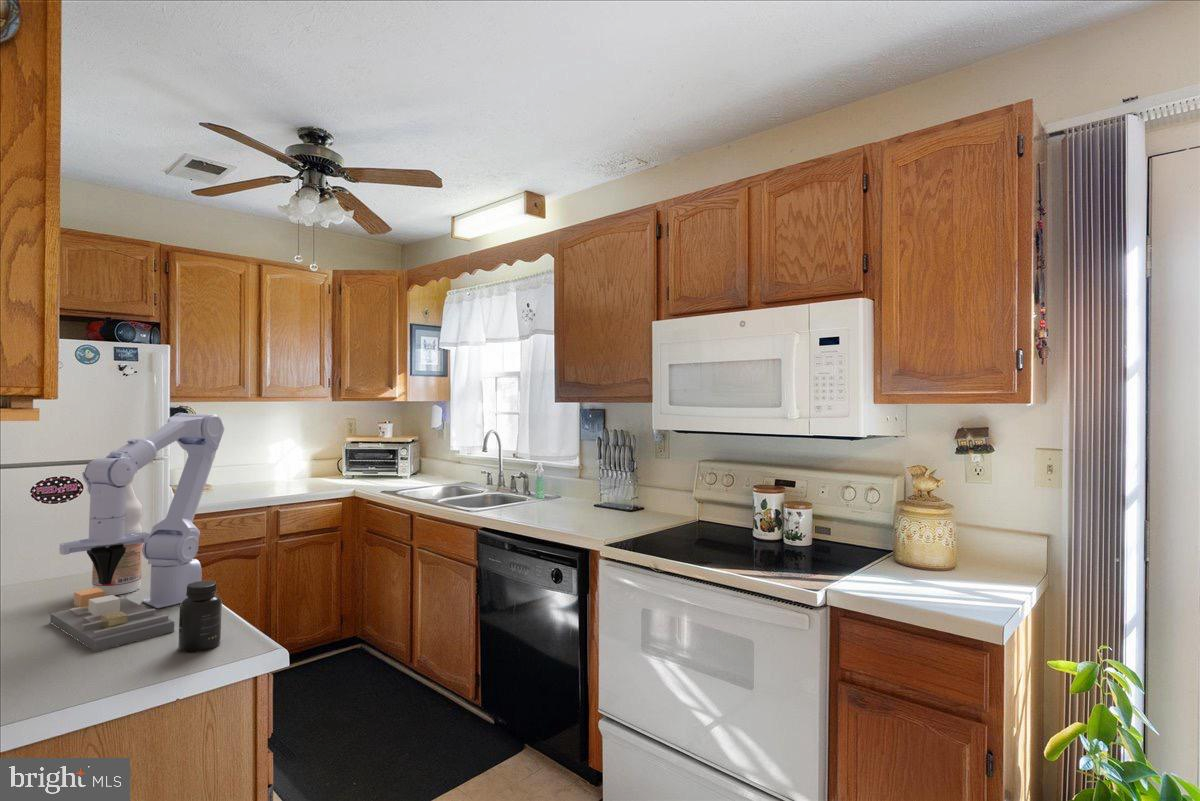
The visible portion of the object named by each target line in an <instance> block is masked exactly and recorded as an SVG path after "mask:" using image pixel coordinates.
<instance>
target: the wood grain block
mask: <svg viewBox="0 0 1200 801" xmlns="http://www.w3.org/2000/svg"><path fill="white" fill-rule="evenodd" d="M127 620H128V615H127V614H125V613H123V612H121V611H115V612H111V613H106V614H102V615H101V628H103V629H106V628H110V627H115V626H119V625H123V624H127Z"/></svg>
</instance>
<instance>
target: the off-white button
mask: <svg viewBox="0 0 1200 801" xmlns="http://www.w3.org/2000/svg"><path fill="white" fill-rule="evenodd" d="M120 599H121V598H120V597H118V596H117V595H109V596H104V597H99V598H94V599H89V608H88V612H90V613H91V614H93V615H95V616H98V615H102V614H106V613H111V612H115V611H120Z"/></svg>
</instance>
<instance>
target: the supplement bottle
mask: <svg viewBox="0 0 1200 801" xmlns="http://www.w3.org/2000/svg"><path fill="white" fill-rule="evenodd" d="M217 592H218V589H217V582H216V581H215V580H201V581H197V582H193V583H190V584H188V585H187V592H186V596H188V598H186V599H184V600H183V601H182V603H179V604H180V605H179V617H178V620H179V621H178V650H180V651H181V652H183V653H191V654H194V653H195V654H196V653H202V652H206V651H210V650H212V649H214V648H216V647H217V646H219V645H220V643H221V634H222V612H223V611H222V609H223V608H222V607H223V600H222V598H221V597H220V596H219V595H218V594H217Z"/></svg>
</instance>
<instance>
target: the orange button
mask: <svg viewBox="0 0 1200 801" xmlns="http://www.w3.org/2000/svg"><path fill="white" fill-rule="evenodd" d="M73 593H74V594H73V605H75V606H77V607H81V608H82V607H87V606H89V599H94V598H99V597H104V596H105V591H104V590H102V589H100V588H92V587H91V588H88V589H83V590H77V591H74V592H73Z"/></svg>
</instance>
